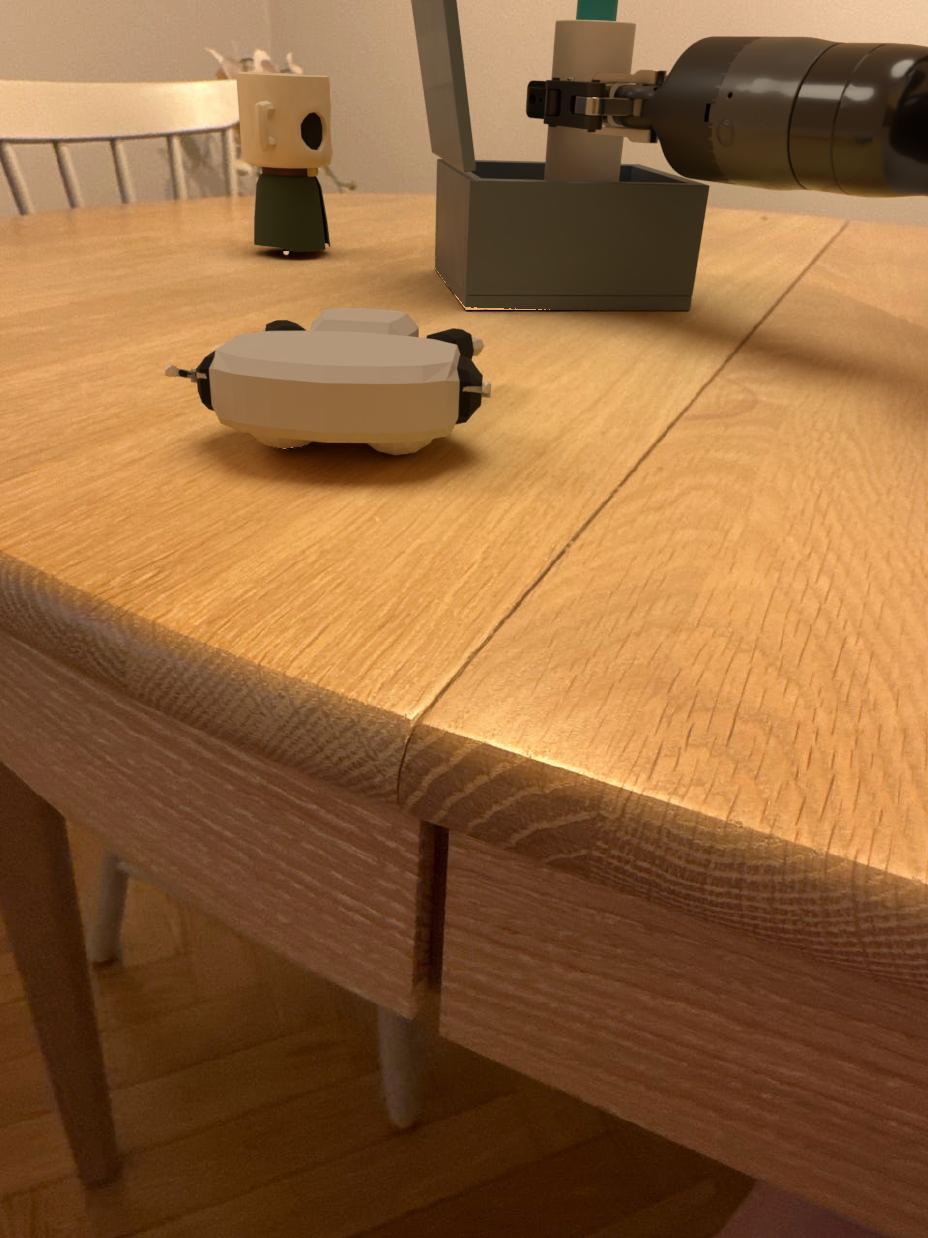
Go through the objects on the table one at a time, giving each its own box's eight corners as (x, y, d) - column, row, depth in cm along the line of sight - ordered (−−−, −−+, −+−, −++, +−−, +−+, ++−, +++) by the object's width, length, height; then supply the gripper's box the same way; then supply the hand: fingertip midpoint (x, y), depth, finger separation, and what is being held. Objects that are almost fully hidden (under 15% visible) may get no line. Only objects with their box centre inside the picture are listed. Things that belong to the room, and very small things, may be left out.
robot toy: (258, 385, 49) (166, 472, 36) (253, 295, 47) (154, 351, 34) (490, 397, 49) (485, 488, 36) (495, 307, 47) (491, 368, 34)
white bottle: (603, 202, 69) (624, -2, 63) (625, 211, 65) (650, -6, 58) (534, 200, 68) (548, -6, 62) (552, 210, 64) (570, -11, 57)
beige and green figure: (311, 267, 73) (302, 75, 67) (225, 260, 75) (209, 71, 68) (352, 245, 83) (349, 75, 76) (276, 239, 84) (266, 71, 77)
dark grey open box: (626, 271, 77) (639, 163, 73) (690, 310, 65) (710, 185, 61) (434, 270, 75) (436, 158, 70) (465, 310, 63) (469, 179, 59)
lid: (404, -132, 61) (392, -131, 61) (436, -177, 50) (421, -175, 49) (442, 150, 70) (431, 152, 70) (476, 170, 58) (464, 172, 58)
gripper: (851, 42, 55) (642, 40, 67) (685, 29, 48) (482, 29, 59) (821, 182, 59) (628, 157, 70) (664, 190, 51) (477, 161, 63)
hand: (562, 99), depth 65 cm, fingers closed on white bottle, 5 cm apart
